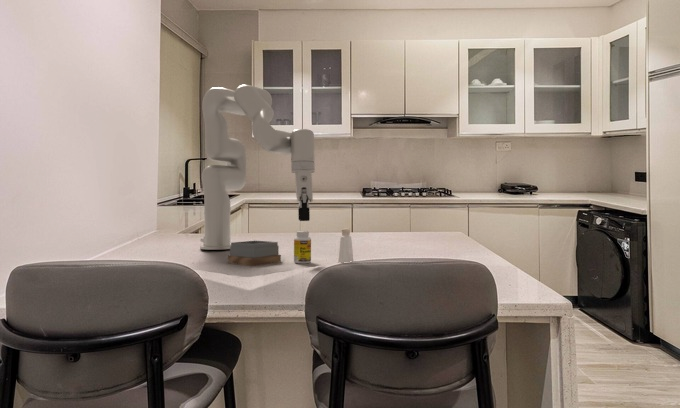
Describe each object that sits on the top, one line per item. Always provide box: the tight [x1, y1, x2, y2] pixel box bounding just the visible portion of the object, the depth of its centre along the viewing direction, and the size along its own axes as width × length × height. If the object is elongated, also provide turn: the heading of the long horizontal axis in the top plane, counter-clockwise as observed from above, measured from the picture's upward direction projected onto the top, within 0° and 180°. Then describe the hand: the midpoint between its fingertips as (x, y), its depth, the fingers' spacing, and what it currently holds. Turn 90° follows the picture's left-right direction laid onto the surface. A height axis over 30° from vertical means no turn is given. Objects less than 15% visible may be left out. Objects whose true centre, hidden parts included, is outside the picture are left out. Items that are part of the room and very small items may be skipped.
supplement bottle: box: [293, 230, 312, 265], centre depth 150 cm, size 6×6×10 cm
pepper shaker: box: [337, 228, 354, 264], centre depth 151 cm, size 5×5×11 cm
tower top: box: [229, 240, 280, 258], centre depth 151 cm, size 11×11×4 cm
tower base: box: [227, 254, 282, 267], centre depth 151 cm, size 12×12×3 cm
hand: (303, 220), depth 149 cm, fingers open, 9 cm apart
